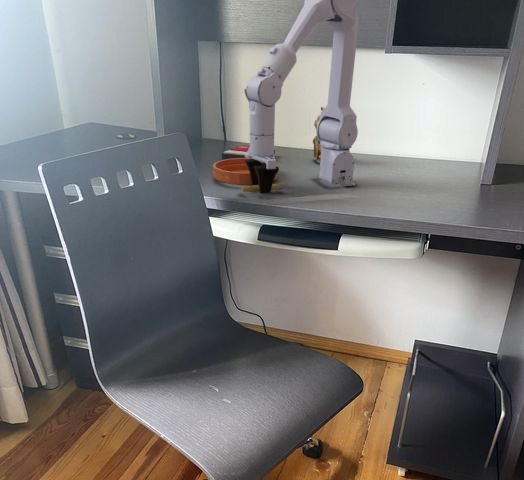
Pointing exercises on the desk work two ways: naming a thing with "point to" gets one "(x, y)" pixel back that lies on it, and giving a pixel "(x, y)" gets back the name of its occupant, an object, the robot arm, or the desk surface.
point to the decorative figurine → (317, 142)
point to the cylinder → (256, 188)
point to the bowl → (233, 171)
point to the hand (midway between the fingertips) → (261, 192)
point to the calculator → (236, 152)
